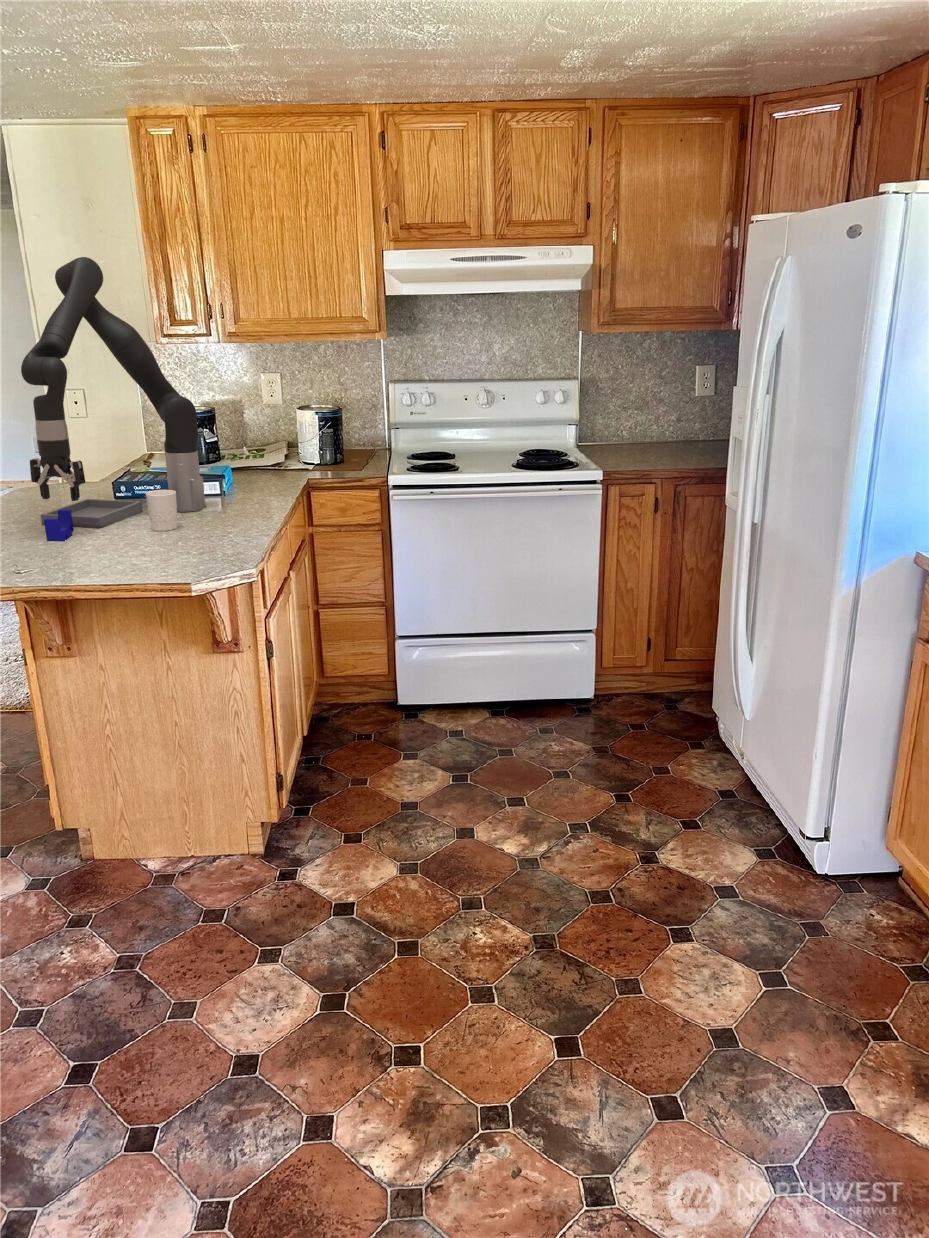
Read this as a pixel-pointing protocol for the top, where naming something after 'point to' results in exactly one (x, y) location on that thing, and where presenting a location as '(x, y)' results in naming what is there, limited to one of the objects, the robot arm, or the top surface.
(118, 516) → the tray
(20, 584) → the top surface
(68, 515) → the blue curved block
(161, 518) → the white cup
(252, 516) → the top surface
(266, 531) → the top surface
